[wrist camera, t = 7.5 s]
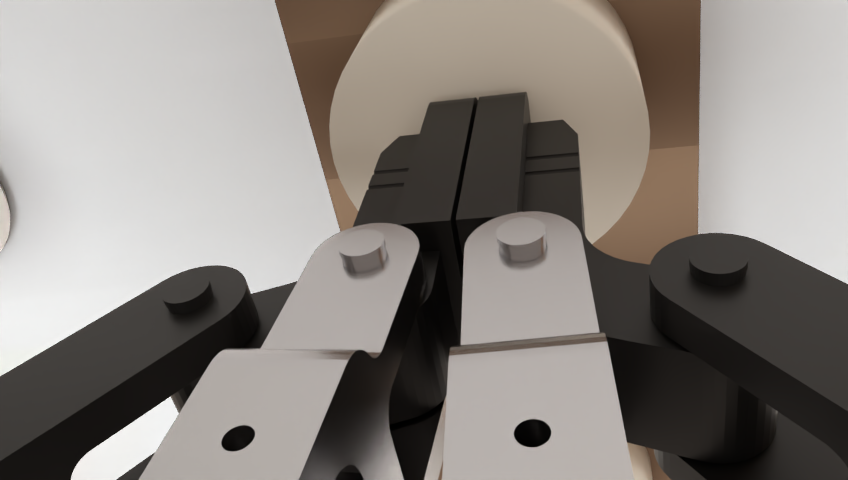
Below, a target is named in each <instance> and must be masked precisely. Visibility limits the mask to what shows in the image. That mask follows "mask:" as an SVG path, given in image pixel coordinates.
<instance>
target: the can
mask: <svg viewBox="0 0 848 480" xmlns="http://www.w3.org/2000/svg"><path fill="white" fill-rule="evenodd" d="M9 230H10V211H9V206H8V201H7V198H6V194H5V192H4V189H3V187H2V185H1V183H0V252H1V250H2V249H3V247H4V246H5V244H6V241H7V239H8V235H9Z"/></svg>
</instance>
